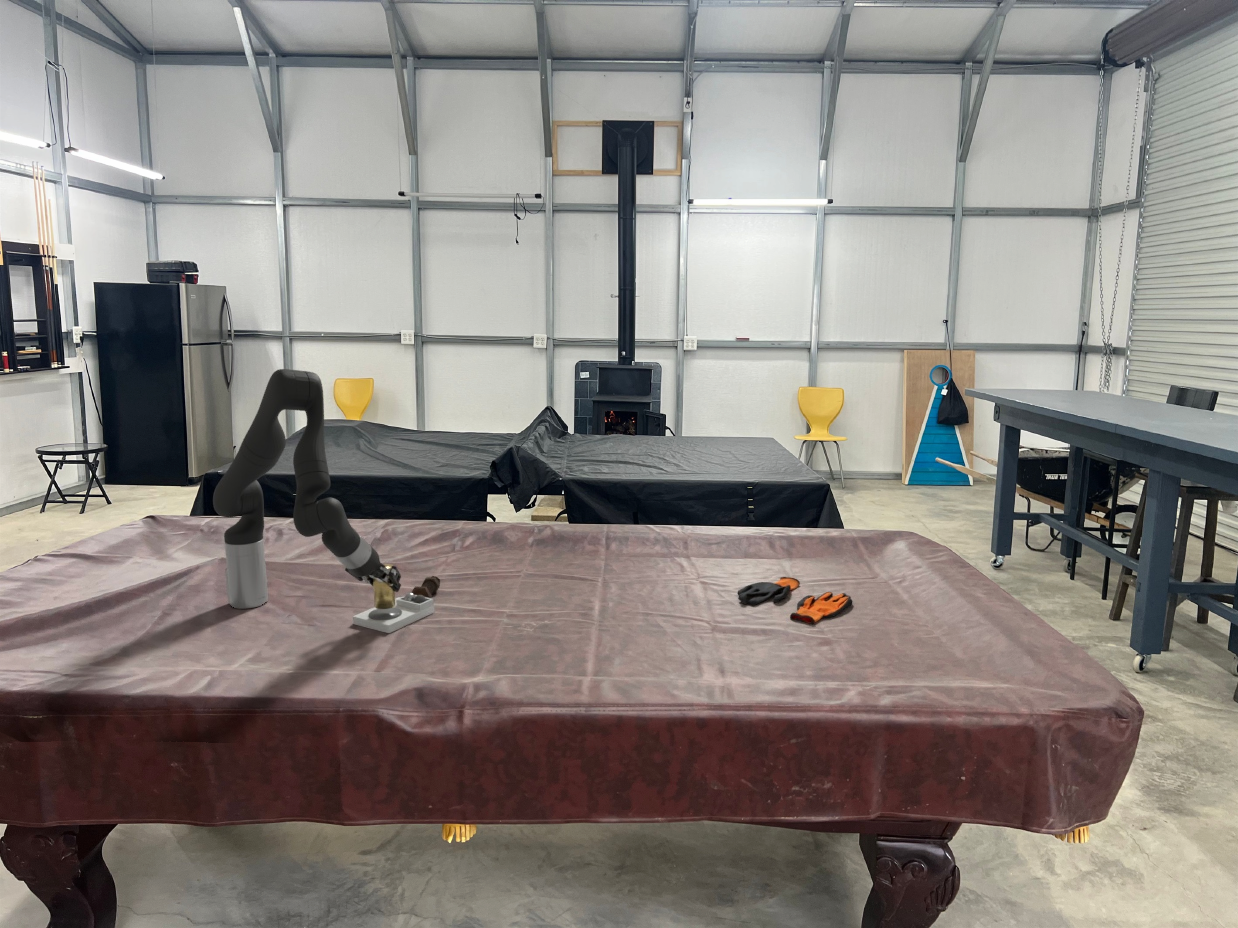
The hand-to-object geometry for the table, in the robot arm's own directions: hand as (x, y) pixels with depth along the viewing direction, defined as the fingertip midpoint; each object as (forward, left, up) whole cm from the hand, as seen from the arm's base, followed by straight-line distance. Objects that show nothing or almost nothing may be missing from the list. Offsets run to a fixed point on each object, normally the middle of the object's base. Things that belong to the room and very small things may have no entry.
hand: (388, 587), depth 207 cm
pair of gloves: (+84, +63, -9) cm, 106 cm away
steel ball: (0, +7, -5) cm, 8 cm away
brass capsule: (0, -2, -4) cm, 5 cm away
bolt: (-3, +18, -9) cm, 20 cm away
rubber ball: (+4, +7, -5) cm, 9 cm away
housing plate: (0, +1, -9) cm, 9 cm away
